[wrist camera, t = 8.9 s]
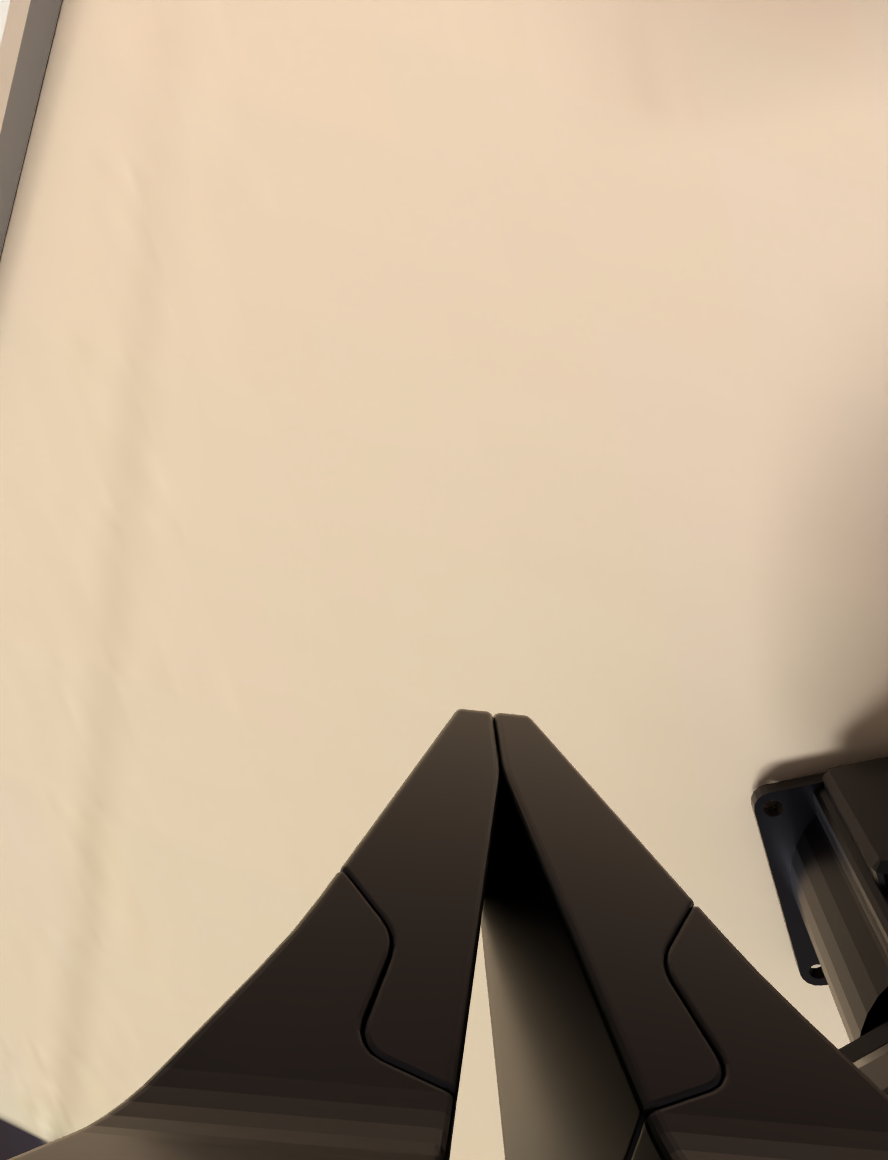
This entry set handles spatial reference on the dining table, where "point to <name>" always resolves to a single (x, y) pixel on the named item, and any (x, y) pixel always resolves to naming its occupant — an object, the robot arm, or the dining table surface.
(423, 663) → the dining table surface
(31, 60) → the slate board
